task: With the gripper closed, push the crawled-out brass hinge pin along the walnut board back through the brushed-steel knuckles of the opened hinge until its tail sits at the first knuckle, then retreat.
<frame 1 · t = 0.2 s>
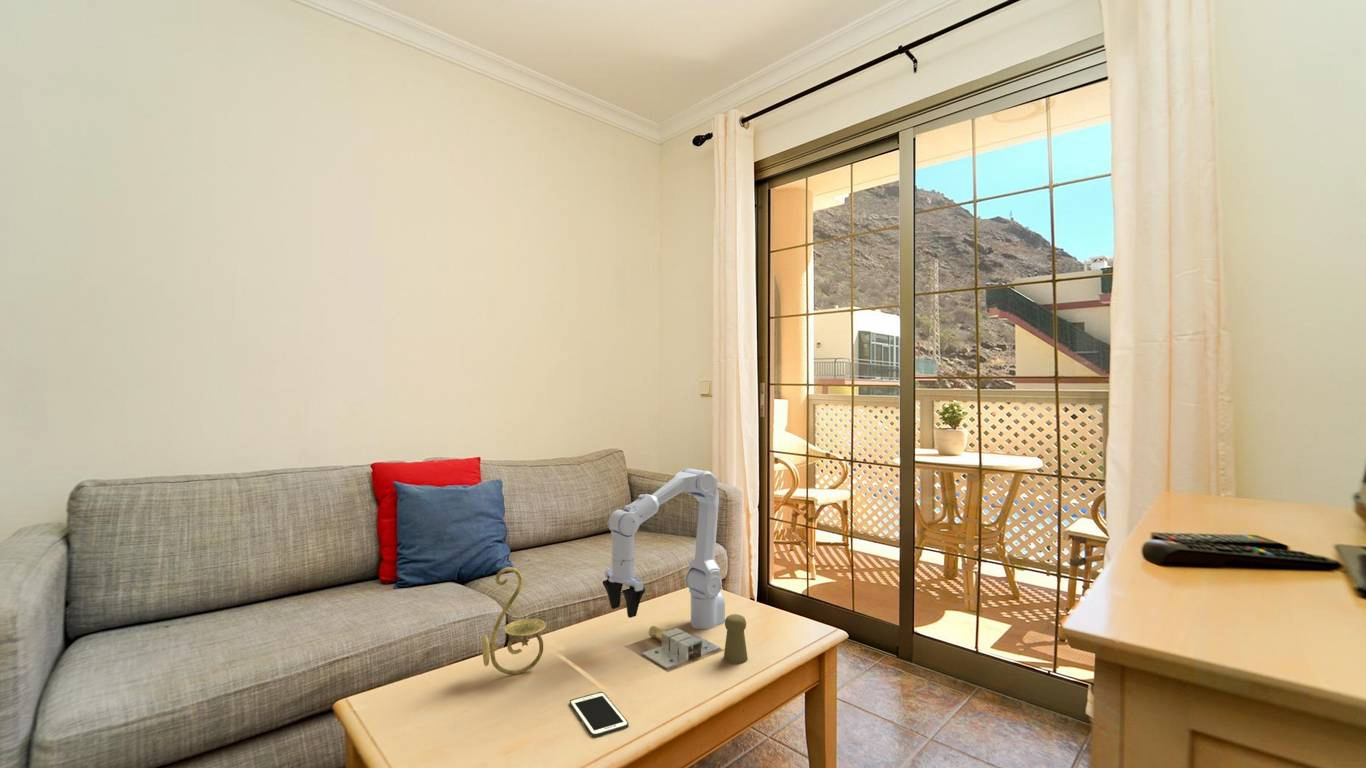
hand: (623, 612, 148), 10 cm above the table, tool pointing down, fingers open, 7 cm apart
hinge leaves: (681, 652, 146), resting on board
board: (674, 651, 148), on the table
pin: (664, 637, 151), point 2 cm above the table, slide at 0.0 cm
olive green pawn: (735, 662, 142), on the table
wall sconce: (515, 675, 136), on the table
cell phone: (598, 717, 119), on the table
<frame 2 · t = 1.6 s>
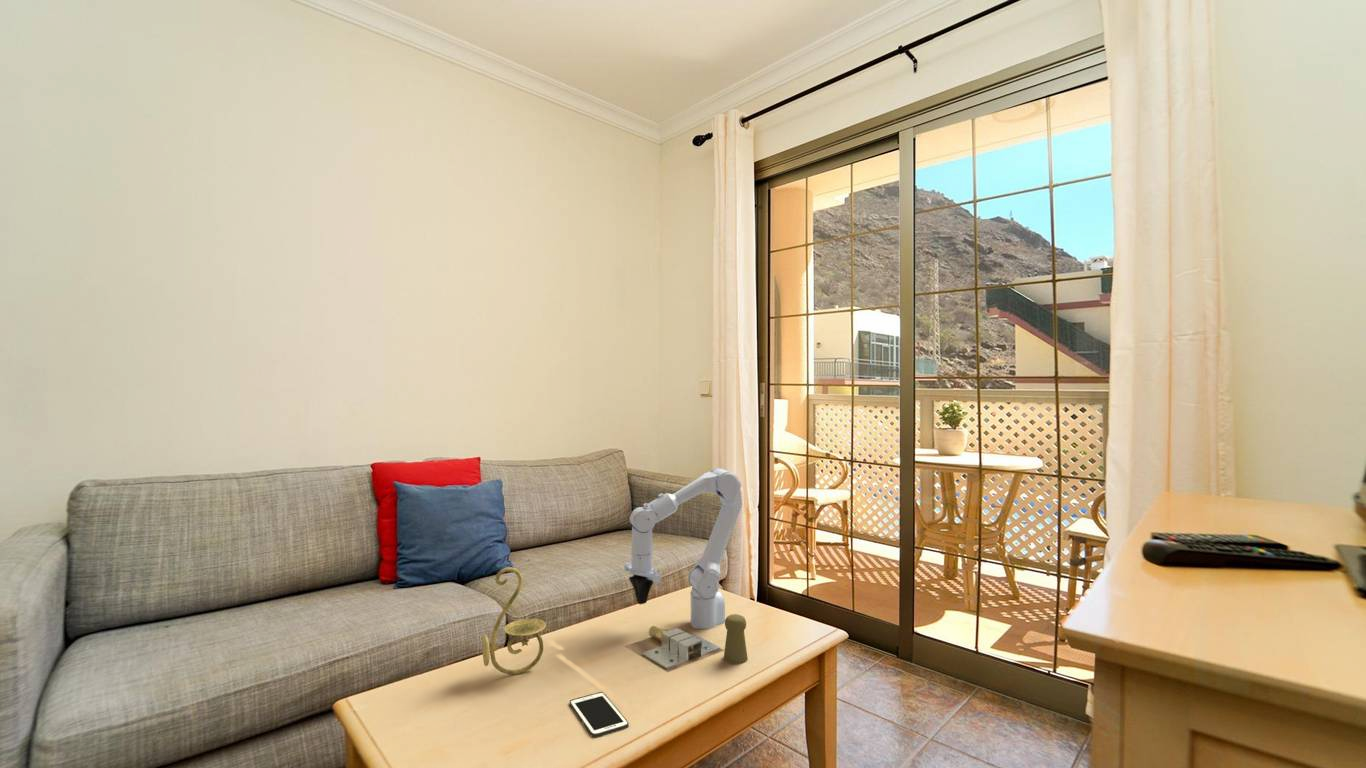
hand: (642, 603, 159), 8 cm above the table, tool pointing down, fingers closed
nothing on the table moved.
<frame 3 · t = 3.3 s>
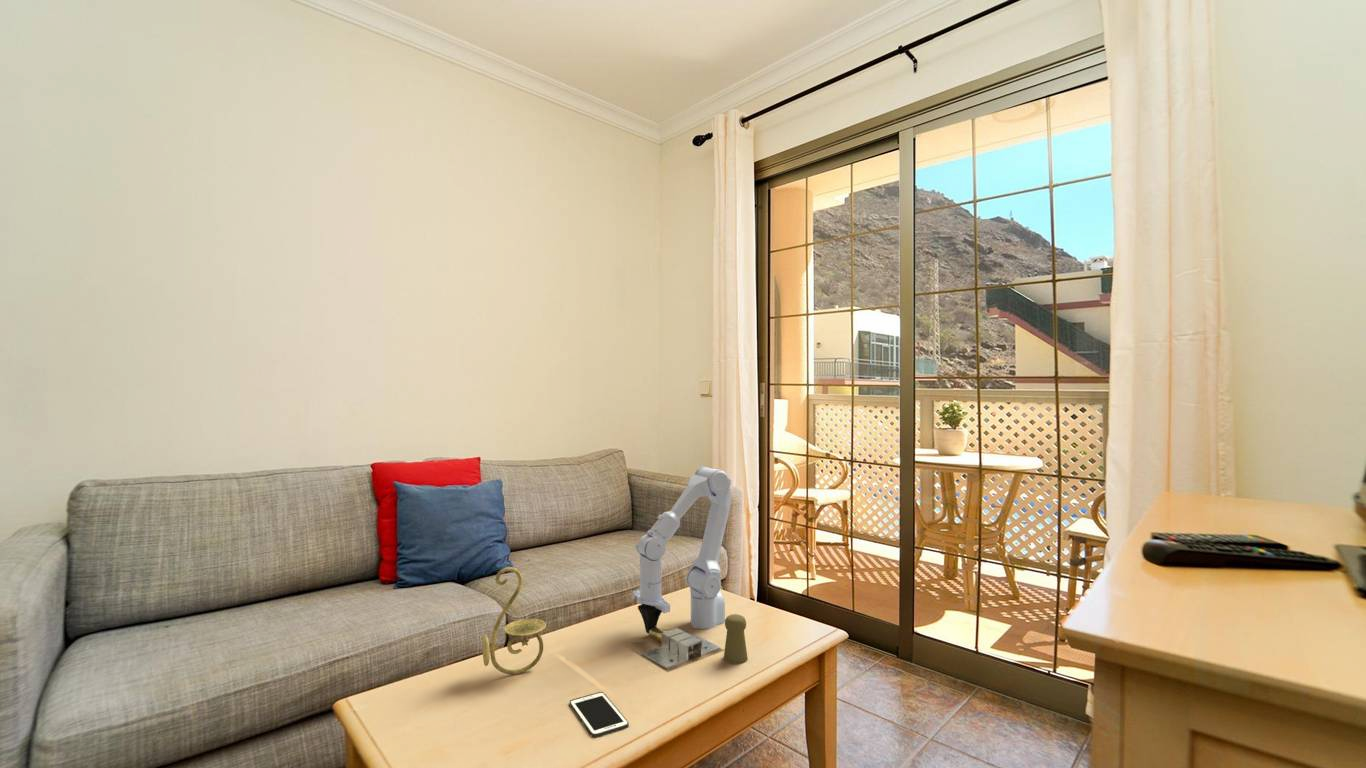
hand: (650, 632, 156), 2 cm above the table, tool pointing down, fingers closed
pin: (664, 637, 151), point 2 cm above the table, slide at 0.1 cm, touching gripper
everything else where it was.
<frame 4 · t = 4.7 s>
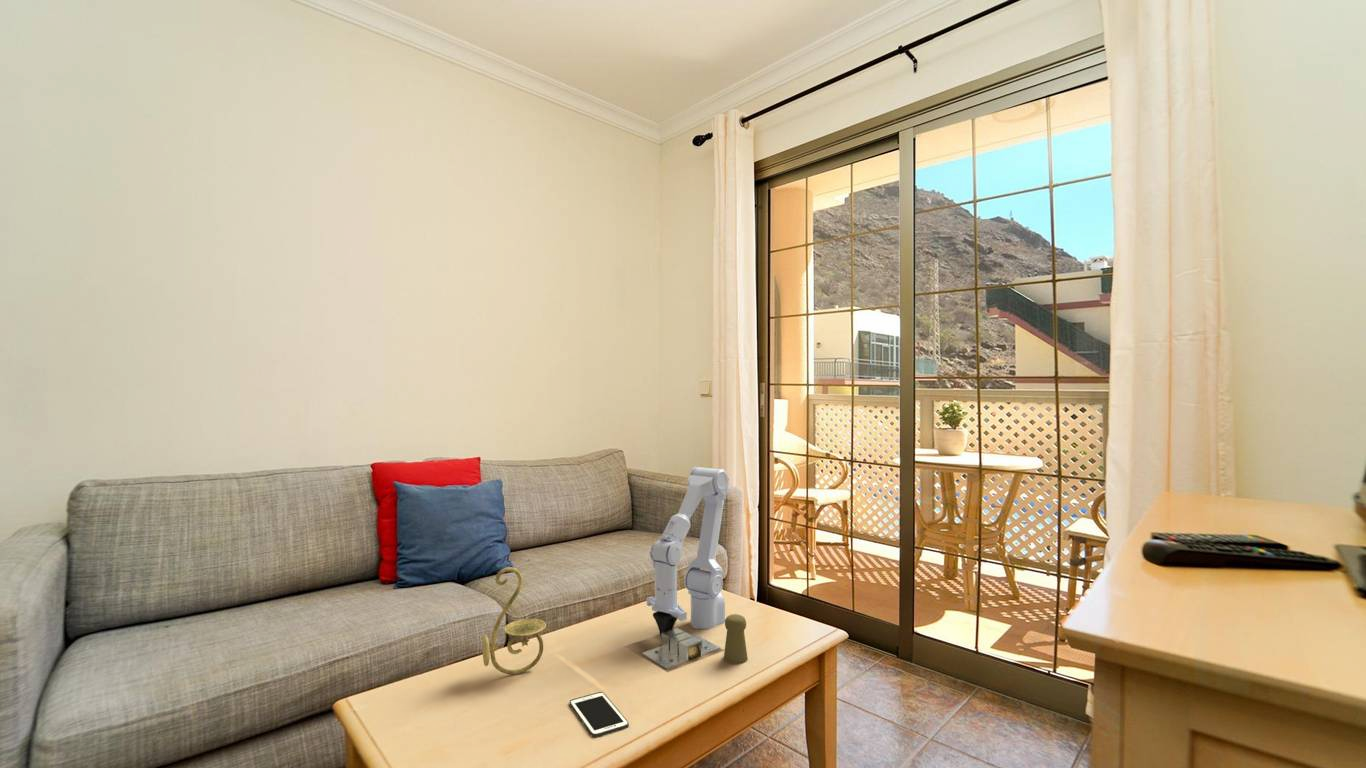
hand: (665, 640, 151), 2 cm above the table, tool pointing down, fingers closed
pin: (680, 646, 146), point 2 cm above the table, slide at 6.7 cm, touching gripper
everything else where it was.
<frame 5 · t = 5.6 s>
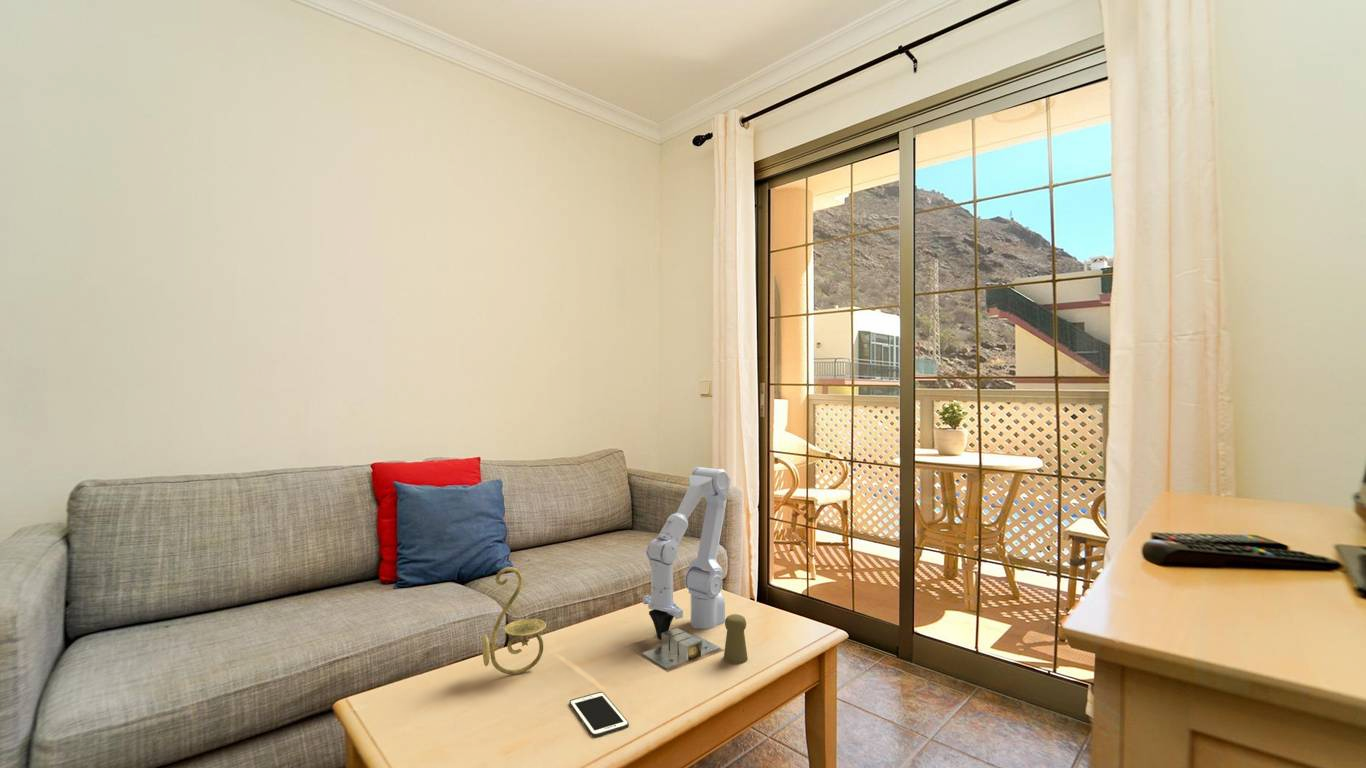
hand: (662, 638, 152), 2 cm above the table, tool pointing down, fingers closed
pin: (681, 646, 146), point 2 cm above the table, slide at 6.8 cm
everything else where it was.
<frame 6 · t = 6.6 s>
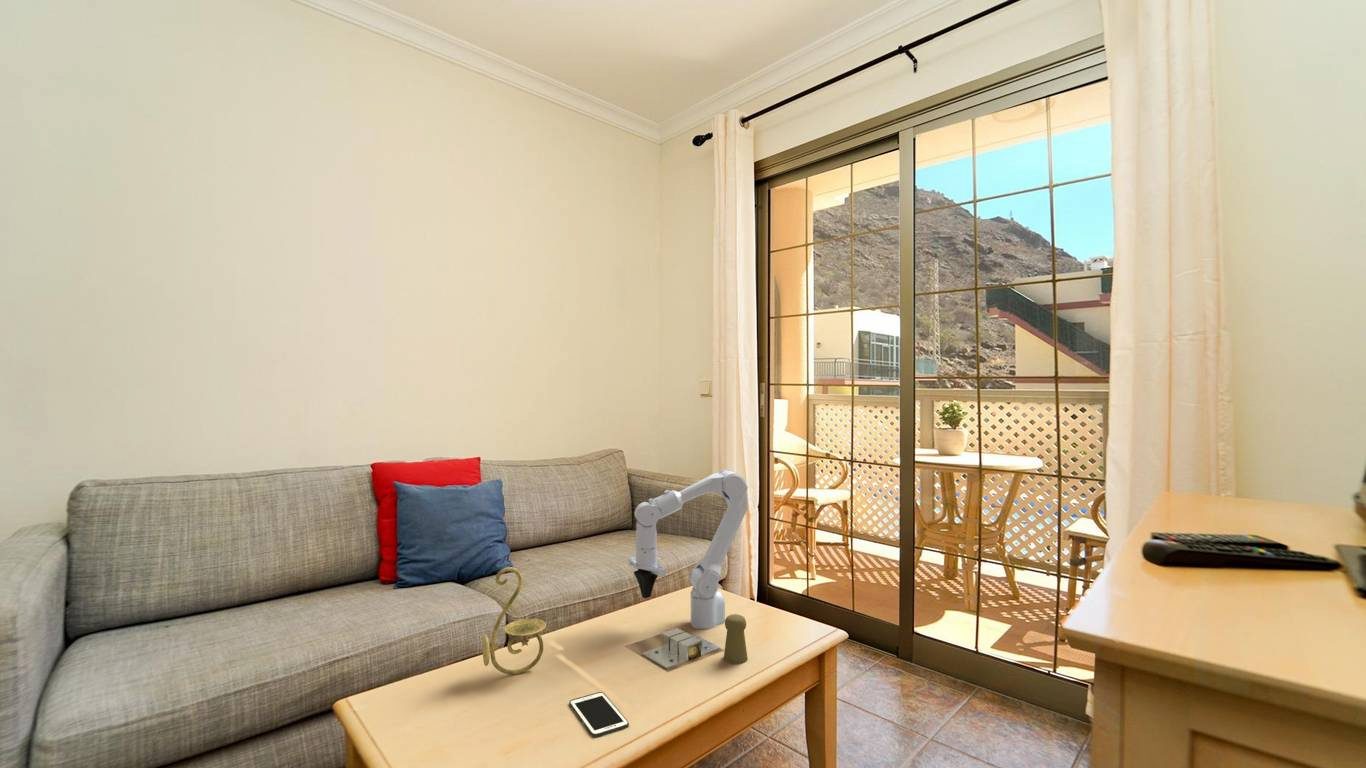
hand: (646, 596, 161), 9 cm above the table, tool pointing down, fingers closed
nothing on the table moved.
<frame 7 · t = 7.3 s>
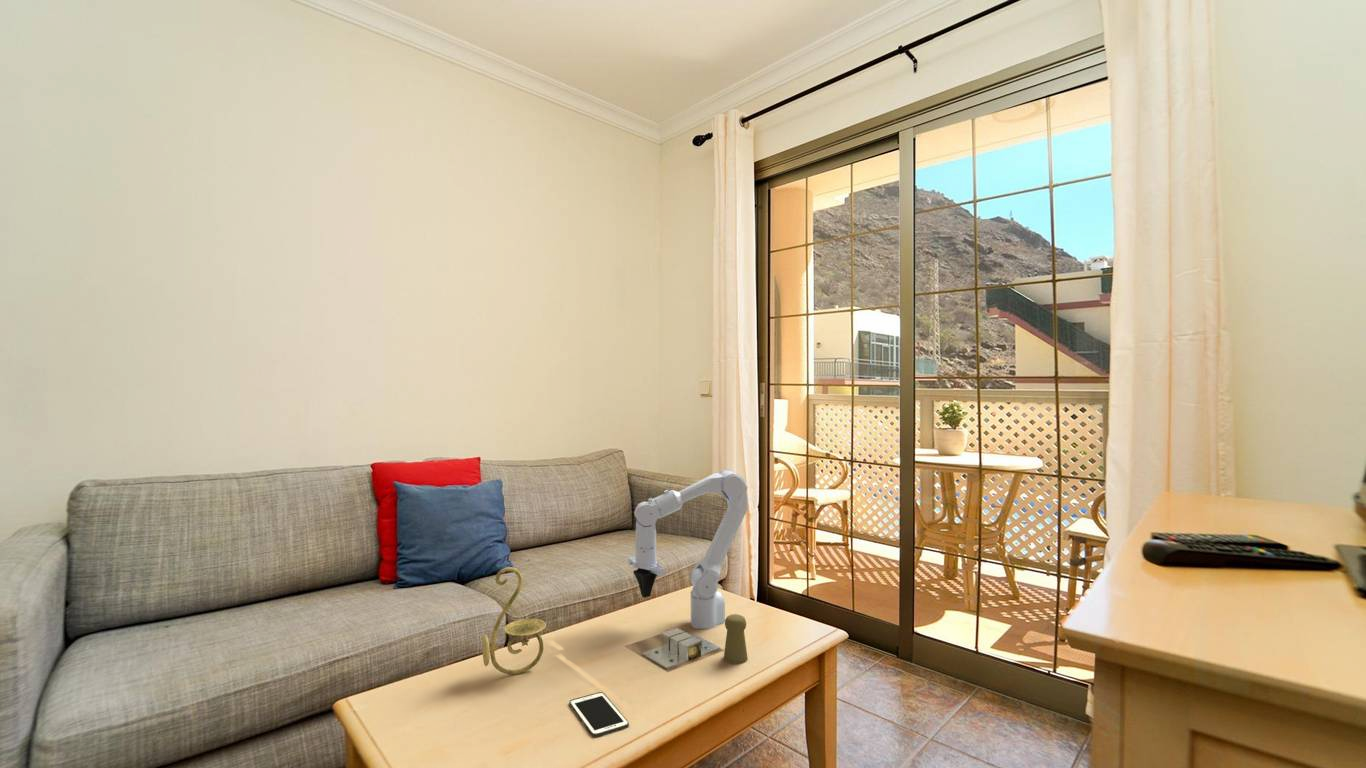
hand: (646, 596, 161), 9 cm above the table, tool pointing down, fingers closed
nothing on the table moved.
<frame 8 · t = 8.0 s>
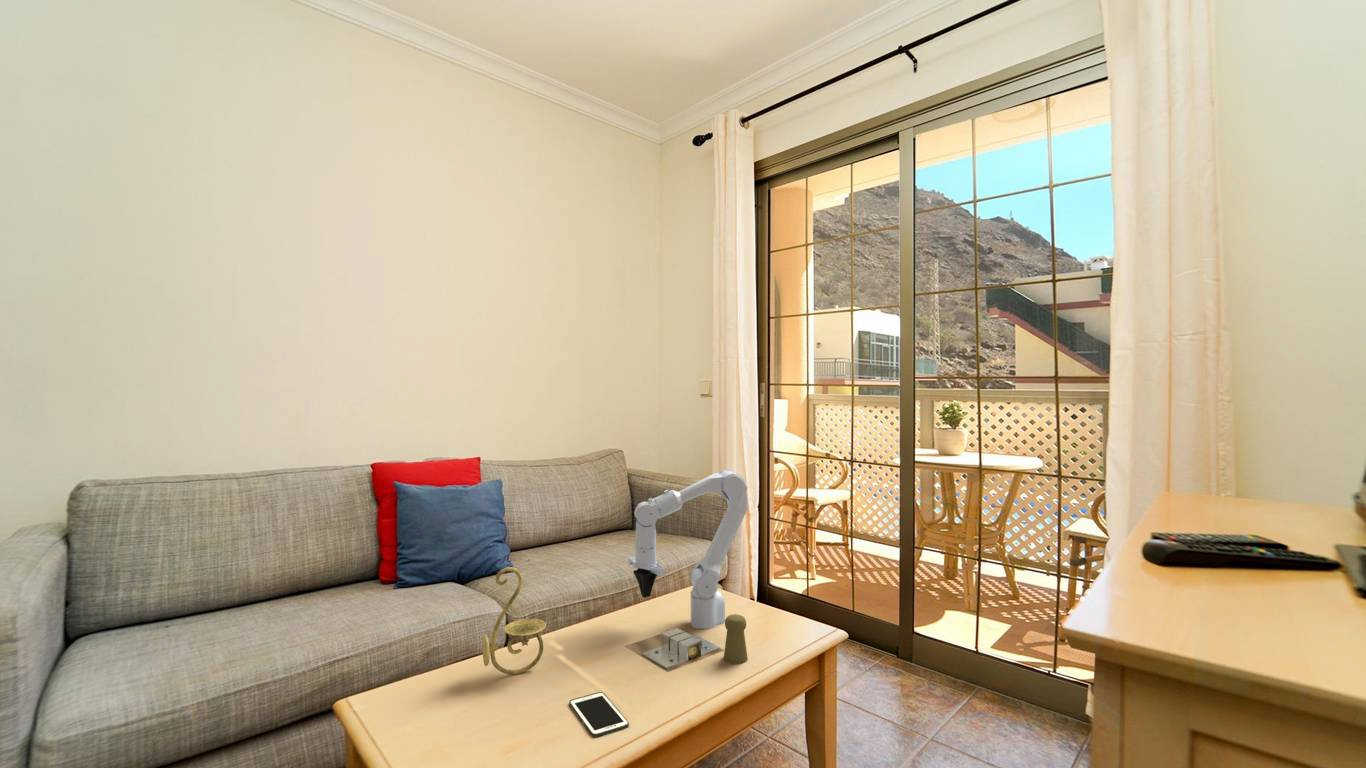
hand: (646, 596, 161), 9 cm above the table, tool pointing down, fingers closed
nothing on the table moved.
at the end: pin slide at 6.8 cm; the gripper is holding nothing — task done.
